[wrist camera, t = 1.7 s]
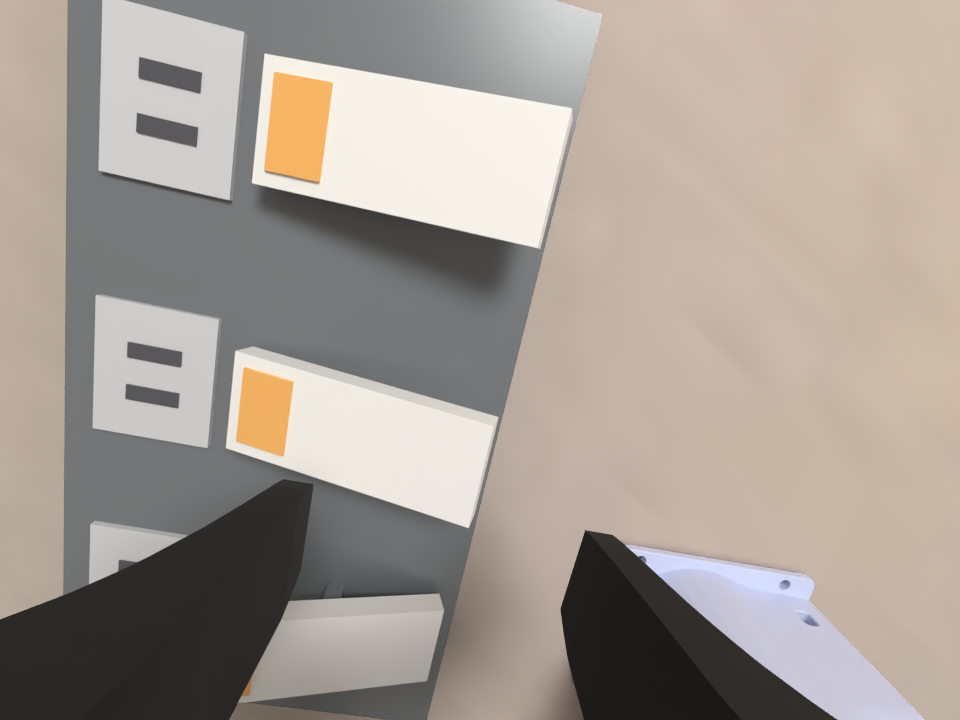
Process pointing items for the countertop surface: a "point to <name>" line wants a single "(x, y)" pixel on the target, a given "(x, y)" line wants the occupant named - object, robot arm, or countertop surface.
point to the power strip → (275, 279)
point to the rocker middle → (360, 434)
